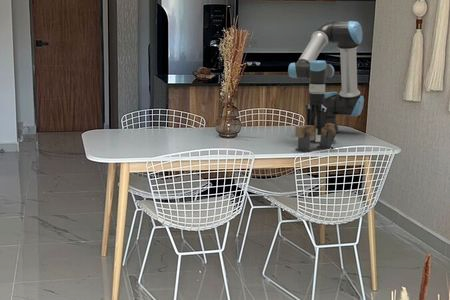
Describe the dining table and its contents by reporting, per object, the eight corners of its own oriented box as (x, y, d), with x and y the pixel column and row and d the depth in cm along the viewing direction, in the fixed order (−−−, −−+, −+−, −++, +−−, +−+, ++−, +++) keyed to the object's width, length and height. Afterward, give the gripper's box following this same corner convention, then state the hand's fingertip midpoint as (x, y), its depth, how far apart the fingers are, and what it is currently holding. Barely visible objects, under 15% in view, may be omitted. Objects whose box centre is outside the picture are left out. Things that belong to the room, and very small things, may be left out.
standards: (323, 146, 299) (324, 129, 297) (333, 149, 293) (334, 131, 291) (295, 150, 289) (296, 132, 287) (304, 152, 283) (305, 134, 281)
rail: (329, 133, 297) (329, 123, 296) (334, 134, 294) (334, 124, 293) (295, 136, 285) (295, 126, 284) (300, 137, 282) (300, 127, 281)
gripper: (299, 91, 291) (297, 138, 295) (322, 94, 277) (320, 144, 281) (311, 91, 295) (309, 137, 299) (334, 94, 281) (332, 142, 285)
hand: (314, 140), depth 290 cm, fingers closed on rail, 3 cm apart
